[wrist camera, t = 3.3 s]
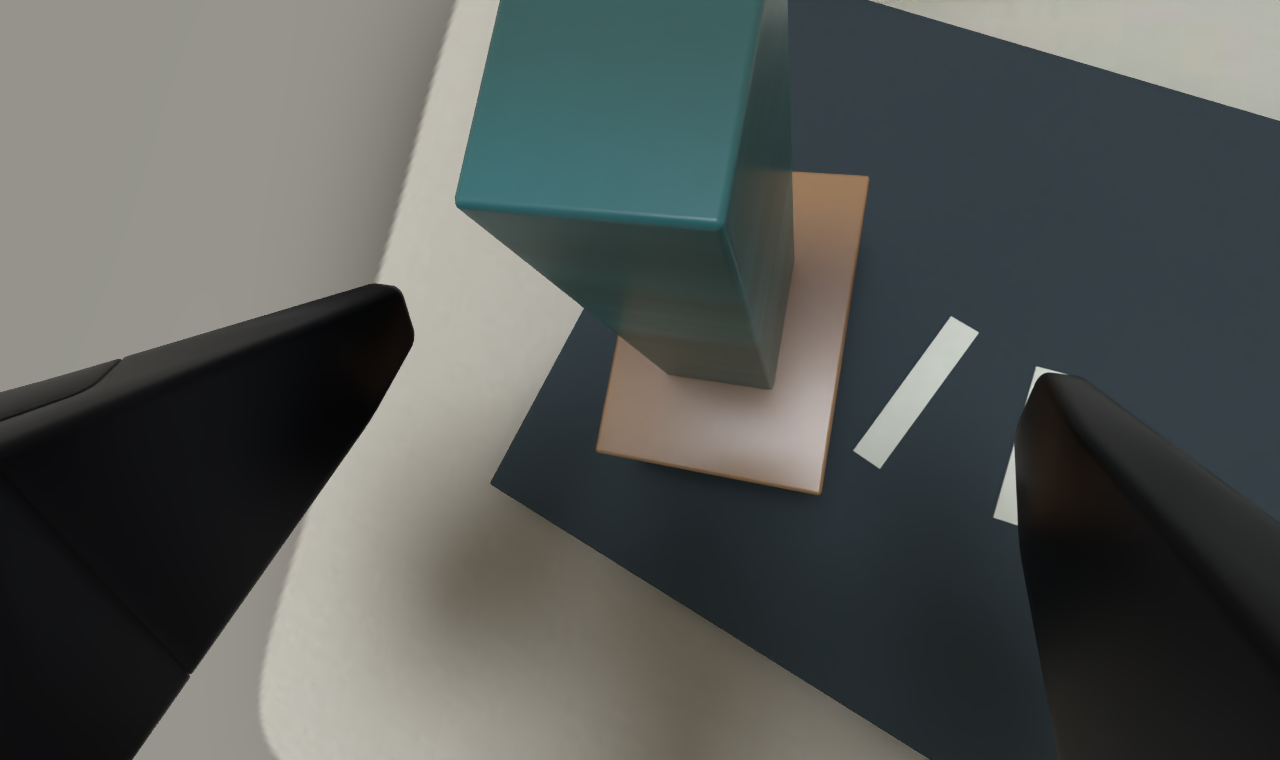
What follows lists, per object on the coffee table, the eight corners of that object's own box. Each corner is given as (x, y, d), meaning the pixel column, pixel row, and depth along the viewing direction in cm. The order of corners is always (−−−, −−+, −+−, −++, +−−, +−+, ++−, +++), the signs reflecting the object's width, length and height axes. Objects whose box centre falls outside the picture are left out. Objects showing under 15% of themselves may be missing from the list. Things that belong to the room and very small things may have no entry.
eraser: (816, 492, 17) (865, 529, 4) (638, 457, 18) (271, 409, 6) (855, 241, 17) (992, -358, 5) (681, 226, 19) (444, -276, 6)
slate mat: (1310, 993, 13) (1328, 1010, 13) (495, 483, 19) (488, 483, 19) (1675, 249, 14) (1705, 242, 13) (765, -21, 20) (765, -33, 19)
